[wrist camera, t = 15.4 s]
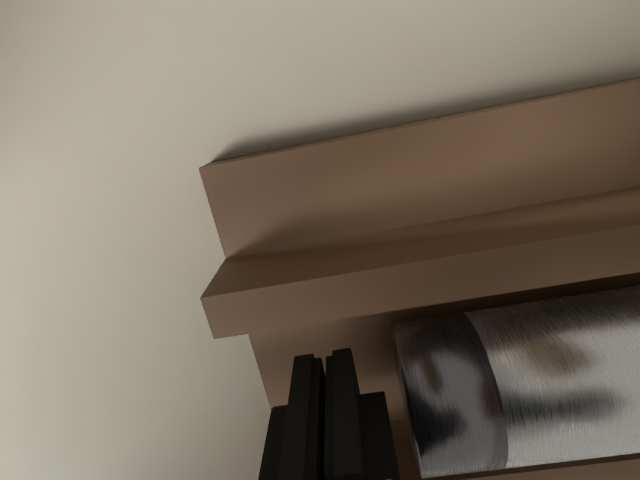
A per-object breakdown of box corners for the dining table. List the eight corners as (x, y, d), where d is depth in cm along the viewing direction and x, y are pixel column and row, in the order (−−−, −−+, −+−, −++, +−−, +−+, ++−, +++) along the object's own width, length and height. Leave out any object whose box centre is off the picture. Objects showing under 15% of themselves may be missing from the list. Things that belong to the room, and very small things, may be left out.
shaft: (708, 357, 13) (870, 467, 9) (400, 399, 13) (428, 516, 10) (728, 243, 11) (928, 317, 7) (385, 298, 12) (410, 389, 8)
